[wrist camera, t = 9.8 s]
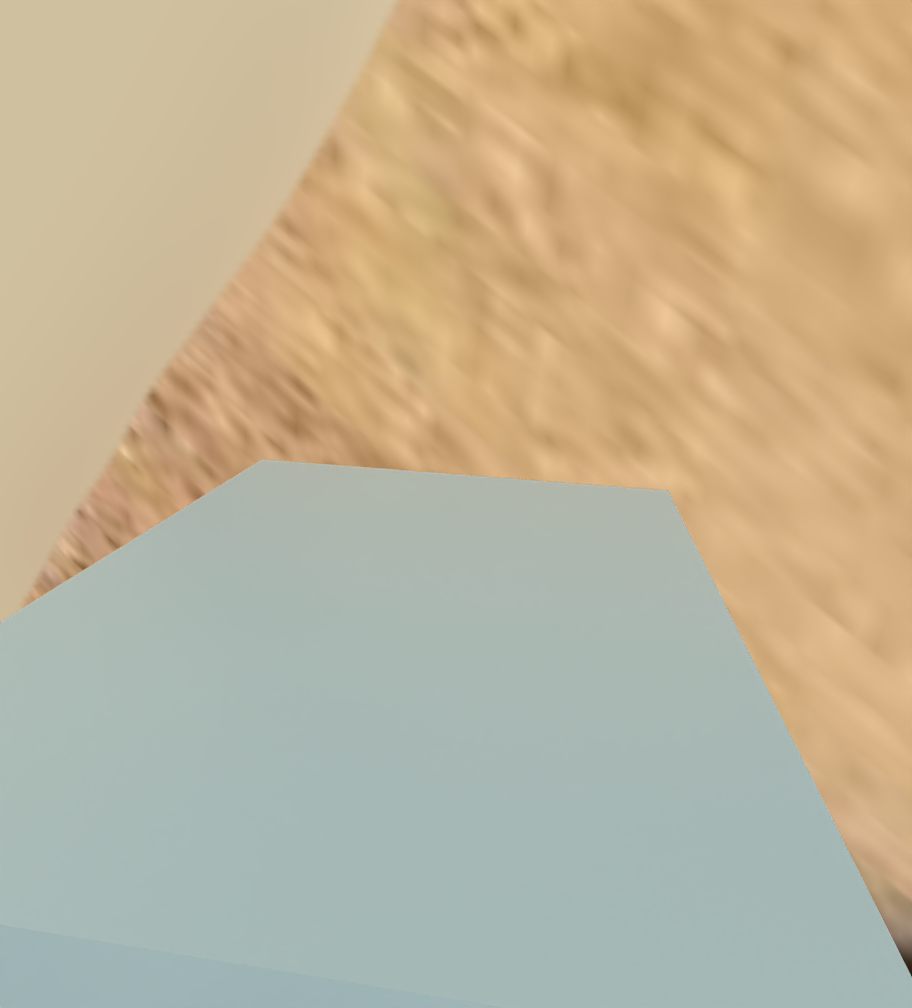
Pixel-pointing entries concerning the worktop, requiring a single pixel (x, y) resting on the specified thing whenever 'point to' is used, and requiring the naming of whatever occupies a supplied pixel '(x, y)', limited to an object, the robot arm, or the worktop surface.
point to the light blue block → (412, 765)
